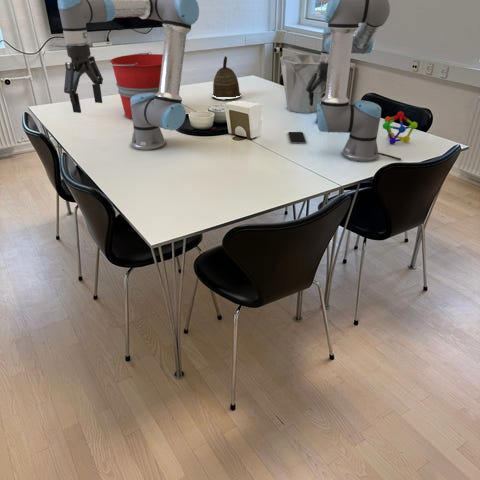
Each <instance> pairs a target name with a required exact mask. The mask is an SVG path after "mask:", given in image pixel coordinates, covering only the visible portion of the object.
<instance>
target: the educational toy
mask: <svg viewBox="0 0 480 480" xmlns="http://www.w3.org/2000/svg"><path fill="white" fill-rule="evenodd" d="M397 119H399V124H400V125H399V127H398V126H393V125H391V124H392V123H394V122H395V121H396V120H397ZM403 120H404V121H405V122H407V123H408V124H409V125H407V126H404V123H403ZM417 127H418V122H417V121H411V120H410V119H409V118H408V117H406V116H405V113H404V112H403V111H401V110H400V111H398V112H397V114H396V115H394V116H391V117H390V116H386V117H385V118H384V122H383V123H382V129H383V130H386V132H387V138H388V142H389V145H395V144H396V143H397V142H402V141H403V142H404V143H409V142H410V140H411V138H410V136H411V134H412V132H413V131H414V130H415V129H417ZM392 129H393V130H397V131H398V132H396V134H395V133H394V132H392ZM408 129H409V131H408V133H407V134H406V135H404V136H401V134H403V133H405V132H406V130H408ZM399 135H400V136H399Z"/></svg>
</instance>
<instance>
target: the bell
mask: <svg viewBox="0 0 480 480" xmlns="http://www.w3.org/2000/svg"><path fill="white" fill-rule="evenodd" d="M227 63H228V57H227V56H224V58H223V63H222V67H221V68H219V69H218V70H217V71H216V73H215V75H214V78H213V81H212V83H213V84H212V95H214V96H216V97H236V96H240V95H241V96H242V93H241V92H240V83H239V80H238V79H239V78H238V77H237V75H236V73H235V72H234V70H232V69H231V68H230V67H227Z"/></svg>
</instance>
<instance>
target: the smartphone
mask: <svg viewBox="0 0 480 480" xmlns="http://www.w3.org/2000/svg"><path fill="white" fill-rule="evenodd" d="M288 138H289V142H290V144H306V142H307V141H306V138H305V135H304V132H303V131H288Z"/></svg>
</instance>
